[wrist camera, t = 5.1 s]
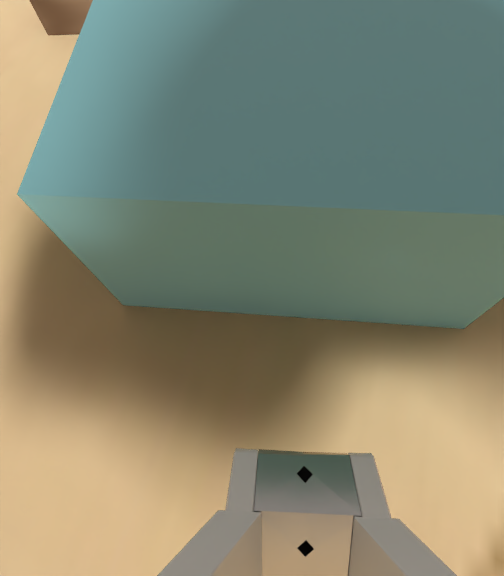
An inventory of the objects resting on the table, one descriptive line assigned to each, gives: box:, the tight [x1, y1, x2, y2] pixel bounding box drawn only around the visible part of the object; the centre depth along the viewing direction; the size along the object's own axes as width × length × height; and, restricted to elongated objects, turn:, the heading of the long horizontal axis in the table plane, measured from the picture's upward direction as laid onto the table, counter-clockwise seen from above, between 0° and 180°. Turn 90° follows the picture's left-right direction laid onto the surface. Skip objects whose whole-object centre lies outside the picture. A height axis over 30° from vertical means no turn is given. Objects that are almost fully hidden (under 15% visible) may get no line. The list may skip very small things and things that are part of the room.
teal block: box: [17, 0, 504, 329], centre depth 16 cm, size 14×12×8 cm
